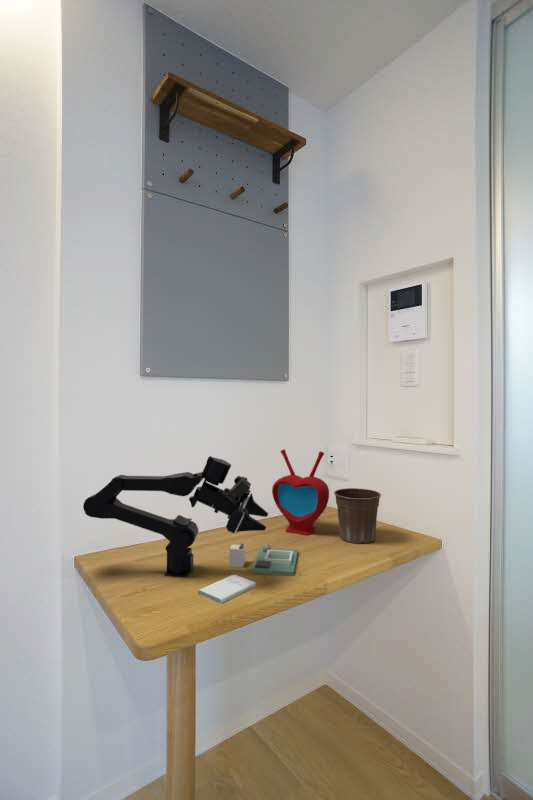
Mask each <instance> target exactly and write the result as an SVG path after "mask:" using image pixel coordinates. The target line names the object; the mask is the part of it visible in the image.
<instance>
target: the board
mask: <svg viewBox="0 0 533 800" xmlns="http://www.w3.org/2000/svg"><path fill="white" fill-rule="evenodd" d="M298 552H299V551H298V549H296V548H295V549H294V548H276V547H271V545H270V544H264V545H262V547H259V550H258V552H257V554H256V556H255V558H254V561H253V564H252V565H251V568H250V574H258V575H274V574H275V575H276V574H277V575H276V576H291V575H292V576H295V569H296V563H297V558H298ZM292 576H291V577H292Z"/></svg>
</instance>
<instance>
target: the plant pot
mask: <svg viewBox="0 0 533 800" xmlns="http://www.w3.org/2000/svg"><path fill="white" fill-rule="evenodd" d="M333 494H334V495H335V503H336V507H337V517H338V527H339V528H338V529H339V538H340V539H341V540H343V541H344V542H347V543H351V544H357V545H359V544H361V543H364V544H369V543H373V542H374V541H375V540H376V531H377V529H376V528H377V520H378V519H377V518H378V510H379V508H378V507H380V499H381V497H382V493H380V492H379V491H377V490H373V489H367V488H355V487H354V488H353V487H350V488H349V487H347V488H340V489H337V490H334V492H333Z"/></svg>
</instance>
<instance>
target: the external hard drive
mask: <svg viewBox="0 0 533 800" xmlns="http://www.w3.org/2000/svg"><path fill="white" fill-rule="evenodd" d="M256 586H257V585H256V582H255V581H252V580H249V579H247V578H246V577H242V576H239V575H236V574H231V575H229V576H227V577H225V578H222V579H220V580H218V581H216V582H214V583H211V584H209V585H206V586H204V587H202V588H200V589H198V590H197V593H198V595H200V596H202V595H203V596H202V597H205V598H207V599H209V598H210V599H209V600H212V601H214V602H216V603H219V604H220V603H222V604H224V603H226V602H227V600H228V601H230V600H231V598H232V599H233V598H235V597H238V596H240V595H241V594H243V593H245V592H247V591H249V590H251V589H253V588H254V587H256ZM225 601H226V602H225ZM223 602H224V603H223Z"/></svg>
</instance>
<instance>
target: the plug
mask: <svg viewBox="0 0 533 800" xmlns="http://www.w3.org/2000/svg"><path fill="white" fill-rule="evenodd" d="M228 550H229V553H228V557H229V558H228V559H229V561H228V563H229V565H228V566H229V567H235V568H238V567H239V568H243V567H244V565H245V563H246V544H244V543H240V544H231V546H230V548H229V549H228Z"/></svg>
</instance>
